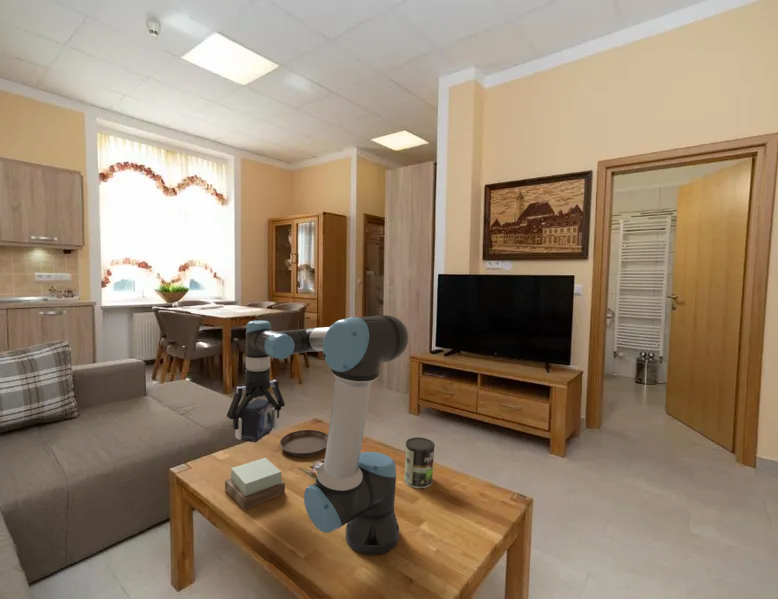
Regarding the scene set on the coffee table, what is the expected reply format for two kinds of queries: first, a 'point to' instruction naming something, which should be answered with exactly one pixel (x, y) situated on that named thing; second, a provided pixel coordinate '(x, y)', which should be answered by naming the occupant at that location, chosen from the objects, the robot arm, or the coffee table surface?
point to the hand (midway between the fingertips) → (256, 433)
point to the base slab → (255, 497)
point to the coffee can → (419, 462)
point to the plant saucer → (304, 443)
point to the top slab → (255, 476)
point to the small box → (256, 420)
